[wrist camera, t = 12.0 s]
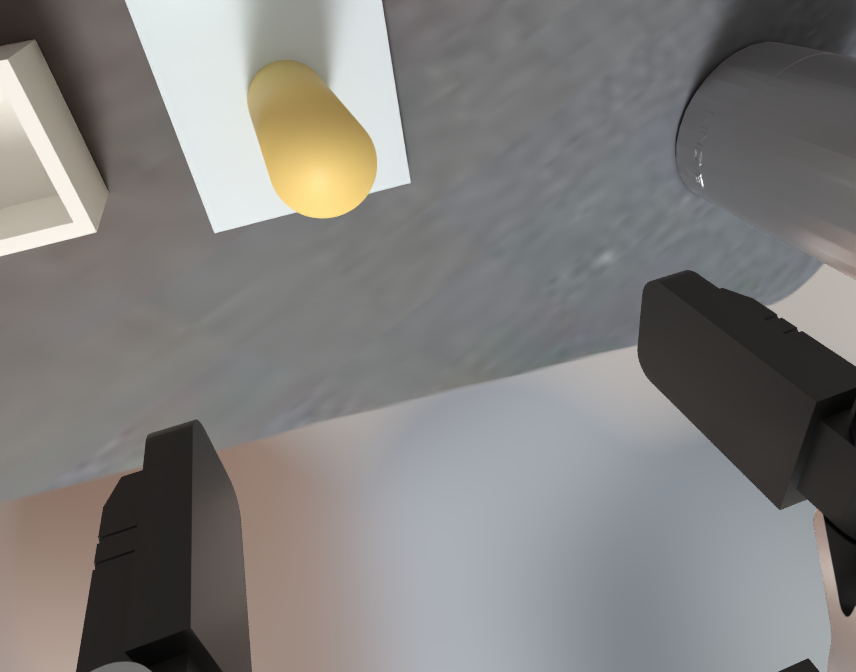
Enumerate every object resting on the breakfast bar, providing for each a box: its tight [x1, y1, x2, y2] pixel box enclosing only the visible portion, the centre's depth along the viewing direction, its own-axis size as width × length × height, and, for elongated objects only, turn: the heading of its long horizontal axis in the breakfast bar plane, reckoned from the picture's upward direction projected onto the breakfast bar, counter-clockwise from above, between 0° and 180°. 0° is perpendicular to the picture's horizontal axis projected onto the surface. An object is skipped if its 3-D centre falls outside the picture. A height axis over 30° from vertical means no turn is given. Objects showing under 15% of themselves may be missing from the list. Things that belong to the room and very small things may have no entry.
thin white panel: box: [125, 0, 411, 233], centre depth 27 cm, size 10×10×1 cm
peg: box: [247, 60, 377, 218], centre depth 23 cm, size 4×4×9 cm
